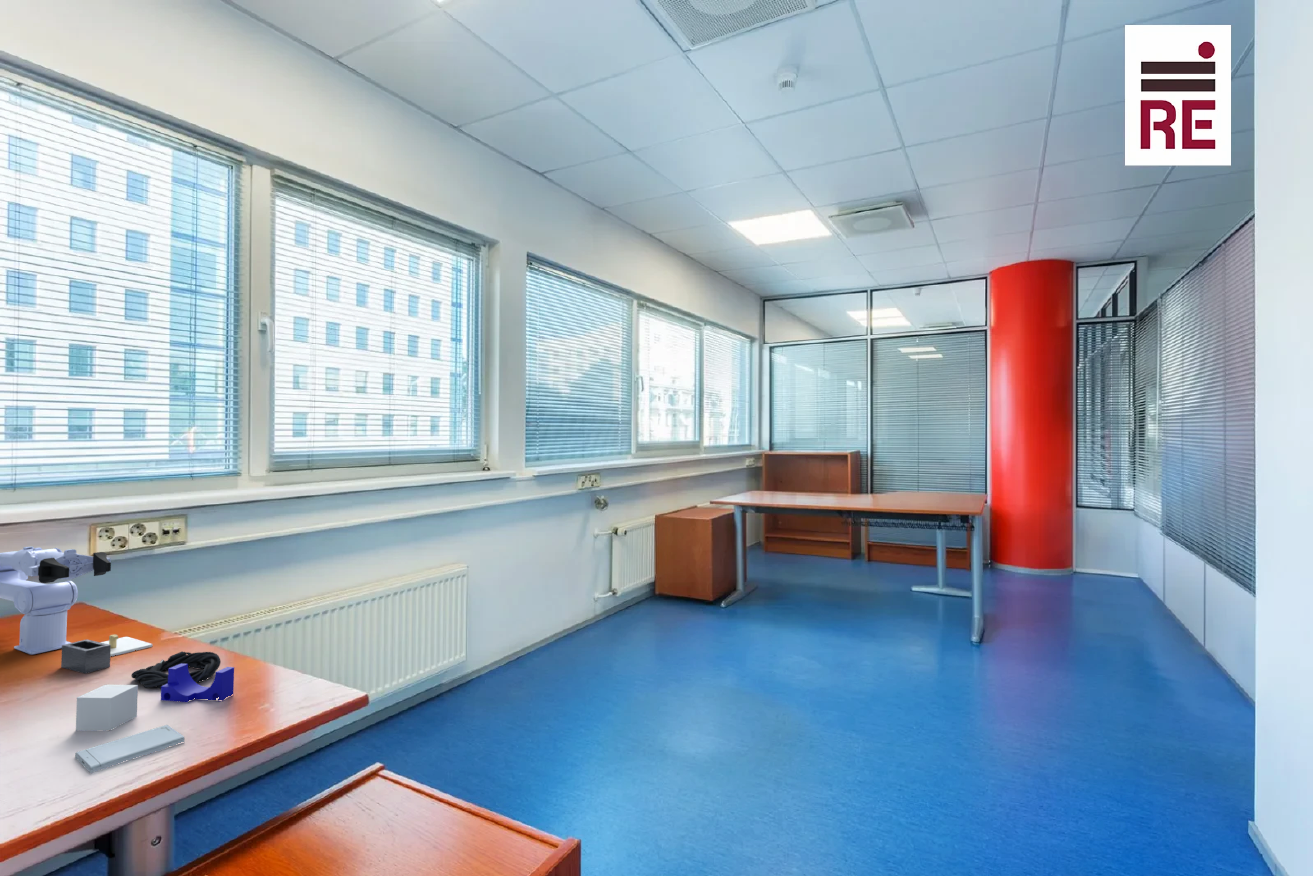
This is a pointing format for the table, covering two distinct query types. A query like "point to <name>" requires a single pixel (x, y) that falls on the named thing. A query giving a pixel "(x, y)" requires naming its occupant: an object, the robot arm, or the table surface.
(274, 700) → the table surface
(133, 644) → the keeper plate
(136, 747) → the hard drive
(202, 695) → the cable clip
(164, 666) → the cable
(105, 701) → the light grey cube
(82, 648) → the grey open storage bin
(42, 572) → the robot arm
